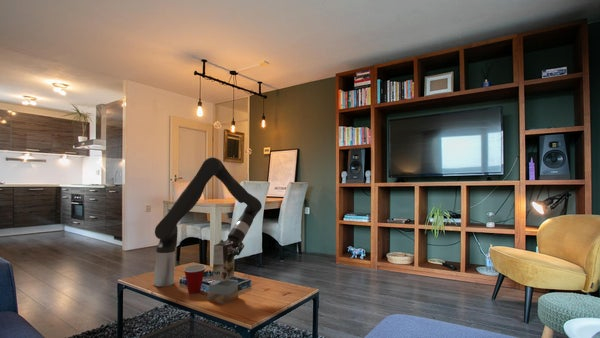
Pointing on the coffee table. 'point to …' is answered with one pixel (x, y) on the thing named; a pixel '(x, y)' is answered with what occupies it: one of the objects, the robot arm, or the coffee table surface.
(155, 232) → the robot arm
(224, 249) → the coffee box
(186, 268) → the plastic cup
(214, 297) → the tower base
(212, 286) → the tower top
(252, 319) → the coffee table surface
